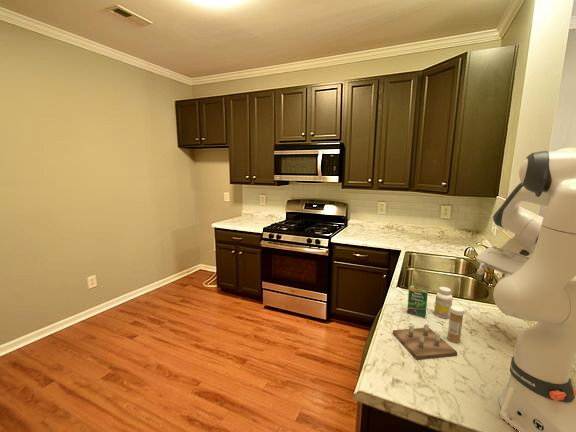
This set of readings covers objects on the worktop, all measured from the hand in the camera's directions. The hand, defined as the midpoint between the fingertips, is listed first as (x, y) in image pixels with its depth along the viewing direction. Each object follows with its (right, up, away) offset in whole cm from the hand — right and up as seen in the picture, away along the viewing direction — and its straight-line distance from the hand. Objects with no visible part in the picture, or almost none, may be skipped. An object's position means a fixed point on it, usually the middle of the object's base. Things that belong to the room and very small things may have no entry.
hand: (489, 277), depth 108 cm
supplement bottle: (-7, -22, +21) cm, 31 cm away
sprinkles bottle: (-13, -25, +2) cm, 28 cm away
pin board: (-26, -25, -1) cm, 36 cm away
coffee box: (-19, -22, +21) cm, 36 cm away
